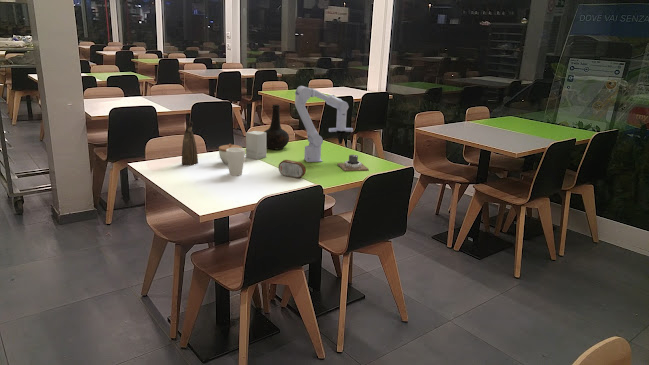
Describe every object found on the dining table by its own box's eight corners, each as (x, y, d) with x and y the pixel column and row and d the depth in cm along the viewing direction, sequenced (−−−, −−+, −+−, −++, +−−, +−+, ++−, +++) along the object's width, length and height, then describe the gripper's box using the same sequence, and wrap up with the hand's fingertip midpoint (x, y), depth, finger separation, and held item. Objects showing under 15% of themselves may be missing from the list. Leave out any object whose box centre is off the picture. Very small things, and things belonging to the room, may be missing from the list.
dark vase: (257, 149, 305) (257, 105, 297) (265, 144, 322) (265, 102, 313) (285, 152, 302) (285, 107, 294) (291, 146, 319) (292, 103, 311)
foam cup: (229, 177, 245) (229, 152, 241) (224, 172, 252) (223, 148, 249) (247, 175, 249) (247, 151, 245) (241, 171, 257) (241, 147, 253)
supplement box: (267, 157, 288) (267, 132, 284) (257, 159, 281) (257, 134, 277) (255, 154, 293) (255, 130, 288) (245, 157, 285) (245, 132, 281)
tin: (305, 178, 249) (306, 162, 247) (303, 179, 246) (303, 163, 244) (280, 173, 255) (280, 158, 252) (277, 175, 252) (277, 159, 250)
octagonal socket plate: (344, 171, 265) (344, 165, 264) (337, 164, 278) (337, 159, 277) (368, 170, 268) (369, 165, 268) (360, 163, 281) (360, 158, 280)
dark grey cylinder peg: (350, 167, 270) (350, 156, 268) (347, 165, 275) (347, 154, 273) (358, 167, 271) (359, 156, 270) (355, 164, 276) (356, 154, 274)
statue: (194, 166, 262) (190, 120, 255) (180, 166, 262) (176, 120, 255) (199, 162, 270) (195, 118, 263) (186, 162, 270) (182, 117, 264)
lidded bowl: (214, 163, 268) (214, 144, 265) (227, 159, 280) (226, 140, 276) (234, 167, 264) (233, 147, 261) (246, 162, 275) (245, 143, 272)
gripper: (331, 122, 279) (330, 145, 283) (355, 122, 283) (353, 144, 286) (328, 120, 285) (327, 142, 289) (351, 120, 289) (350, 142, 293)
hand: (340, 143), depth 288 cm, fingers closed
